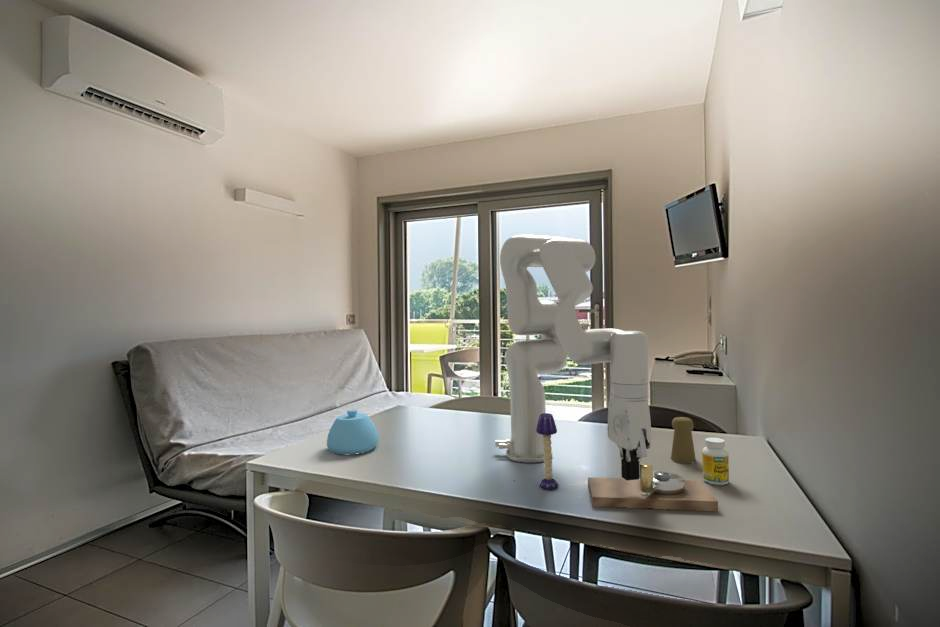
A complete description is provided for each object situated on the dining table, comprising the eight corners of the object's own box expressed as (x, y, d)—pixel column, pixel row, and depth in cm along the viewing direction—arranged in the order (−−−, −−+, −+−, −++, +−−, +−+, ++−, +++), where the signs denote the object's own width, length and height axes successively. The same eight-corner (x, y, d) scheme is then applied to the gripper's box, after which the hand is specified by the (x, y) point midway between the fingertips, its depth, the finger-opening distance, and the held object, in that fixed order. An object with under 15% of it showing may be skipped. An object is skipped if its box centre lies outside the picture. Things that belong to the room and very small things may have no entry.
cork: (698, 464, 121) (698, 420, 121) (673, 463, 123) (672, 420, 122) (692, 456, 127) (692, 415, 127) (668, 455, 129) (667, 414, 128)
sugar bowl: (375, 439, 152) (374, 403, 152) (382, 453, 138) (381, 413, 137) (326, 445, 147) (325, 407, 147) (327, 459, 133) (326, 418, 133)
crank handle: (650, 475, 108) (649, 447, 108) (691, 484, 102) (691, 455, 102) (623, 492, 99) (622, 462, 99) (666, 504, 93) (666, 472, 92)
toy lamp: (558, 491, 106) (556, 416, 106) (537, 491, 107) (535, 416, 106) (558, 483, 111) (556, 412, 110) (538, 482, 112) (536, 411, 111)
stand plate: (592, 506, 98) (592, 495, 98) (588, 486, 109) (587, 476, 109) (718, 511, 94) (717, 500, 94) (700, 489, 105) (700, 479, 105)
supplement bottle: (717, 476, 113) (716, 435, 113) (734, 484, 108) (734, 441, 108) (697, 478, 112) (696, 437, 112) (714, 487, 107) (713, 444, 106)
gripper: (596, 385, 106) (597, 468, 106) (631, 399, 91) (633, 494, 92) (627, 383, 107) (628, 465, 108) (667, 396, 92) (668, 490, 93)
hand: (630, 478), depth 100 cm, fingers closed
